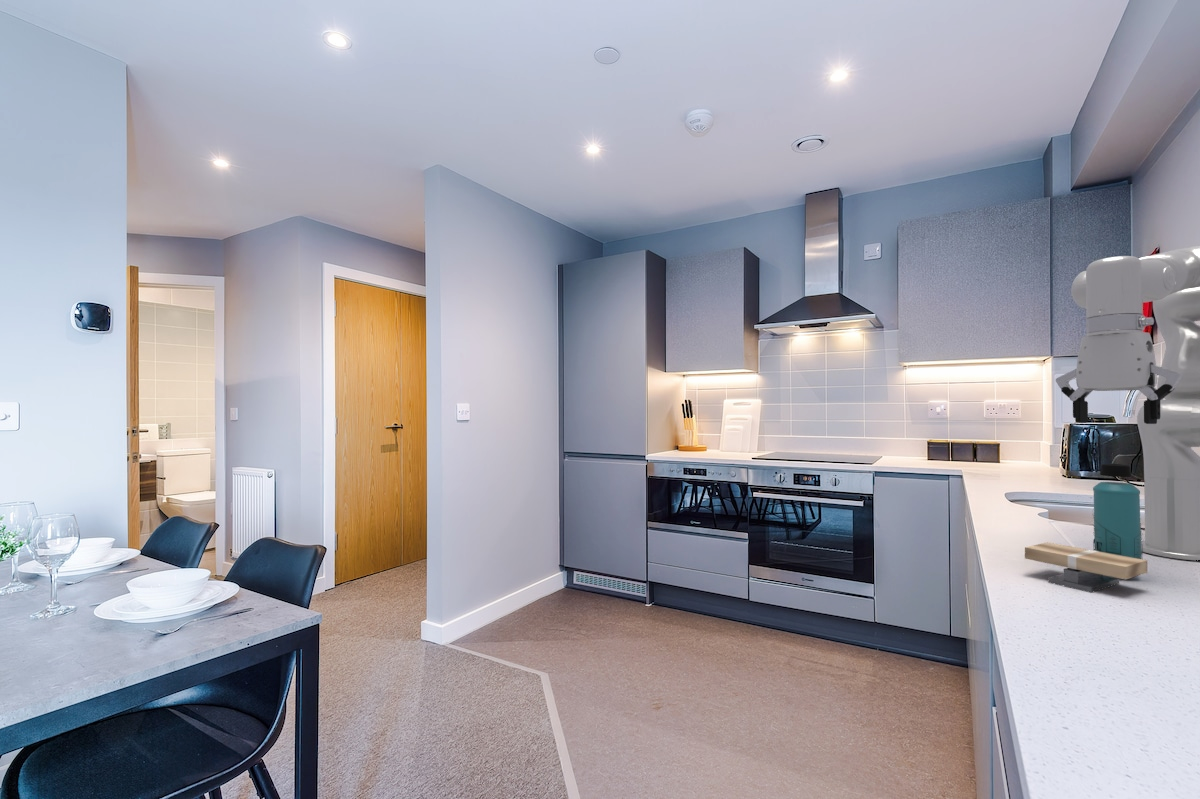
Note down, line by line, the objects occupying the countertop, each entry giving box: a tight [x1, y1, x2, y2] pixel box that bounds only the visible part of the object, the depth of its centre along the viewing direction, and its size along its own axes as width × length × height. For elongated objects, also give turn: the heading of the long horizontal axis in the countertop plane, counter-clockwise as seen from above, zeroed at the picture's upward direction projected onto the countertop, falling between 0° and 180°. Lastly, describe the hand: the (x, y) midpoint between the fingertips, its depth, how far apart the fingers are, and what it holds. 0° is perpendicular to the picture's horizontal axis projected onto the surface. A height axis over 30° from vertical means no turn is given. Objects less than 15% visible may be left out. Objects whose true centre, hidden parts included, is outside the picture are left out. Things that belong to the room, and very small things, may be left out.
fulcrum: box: [1048, 567, 1120, 593], centre depth 97 cm, size 10×6×3 cm, turn 118°
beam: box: [1024, 541, 1148, 580], centre depth 97 cm, size 8×14×2 cm, turn 28°
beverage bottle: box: [1092, 463, 1144, 559], centre depth 101 cm, size 6×7×20 cm
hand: (1114, 423), depth 101 cm, fingers open, 9 cm apart
